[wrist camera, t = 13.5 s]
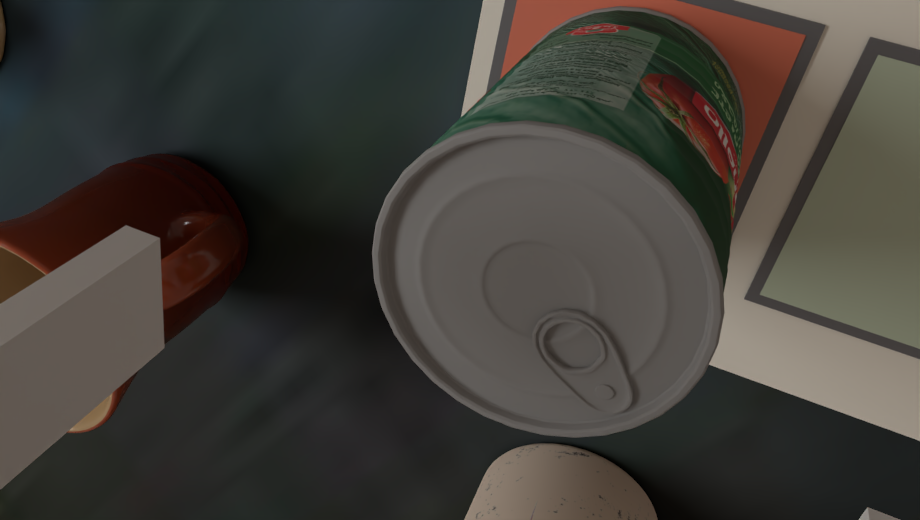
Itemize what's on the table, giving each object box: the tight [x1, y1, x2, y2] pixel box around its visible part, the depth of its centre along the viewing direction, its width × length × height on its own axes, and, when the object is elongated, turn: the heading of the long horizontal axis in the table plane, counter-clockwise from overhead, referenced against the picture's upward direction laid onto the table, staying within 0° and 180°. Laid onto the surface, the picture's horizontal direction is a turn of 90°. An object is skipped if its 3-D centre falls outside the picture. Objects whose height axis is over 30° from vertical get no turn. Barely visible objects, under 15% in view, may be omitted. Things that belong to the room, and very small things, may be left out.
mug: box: [0, 154, 248, 433], centre depth 31 cm, size 12×9×10 cm
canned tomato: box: [372, 6, 746, 438], centre depth 21 cm, size 8×8×11 cm
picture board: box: [461, 0, 920, 441], centre depth 25 cm, size 16×22×1 cm
